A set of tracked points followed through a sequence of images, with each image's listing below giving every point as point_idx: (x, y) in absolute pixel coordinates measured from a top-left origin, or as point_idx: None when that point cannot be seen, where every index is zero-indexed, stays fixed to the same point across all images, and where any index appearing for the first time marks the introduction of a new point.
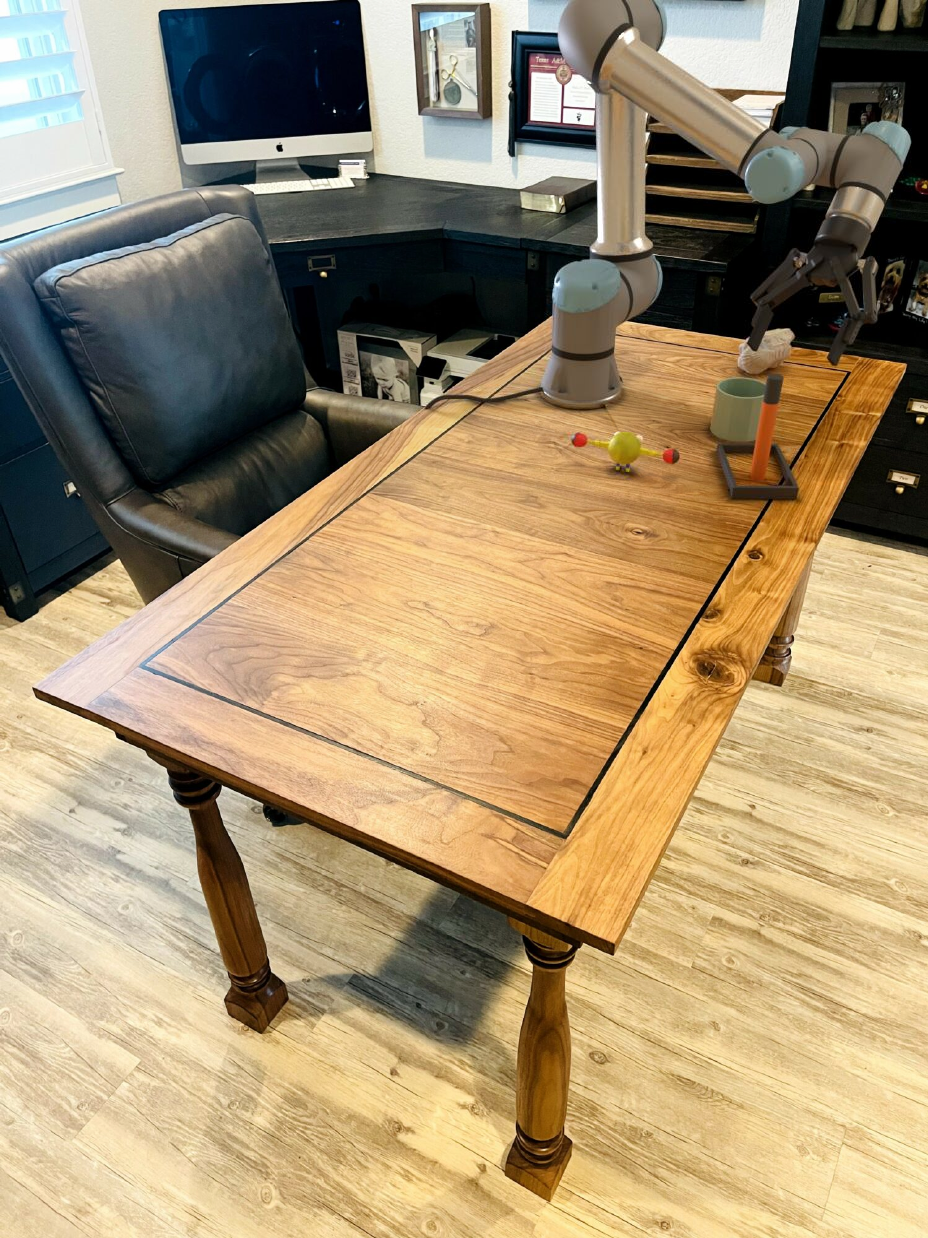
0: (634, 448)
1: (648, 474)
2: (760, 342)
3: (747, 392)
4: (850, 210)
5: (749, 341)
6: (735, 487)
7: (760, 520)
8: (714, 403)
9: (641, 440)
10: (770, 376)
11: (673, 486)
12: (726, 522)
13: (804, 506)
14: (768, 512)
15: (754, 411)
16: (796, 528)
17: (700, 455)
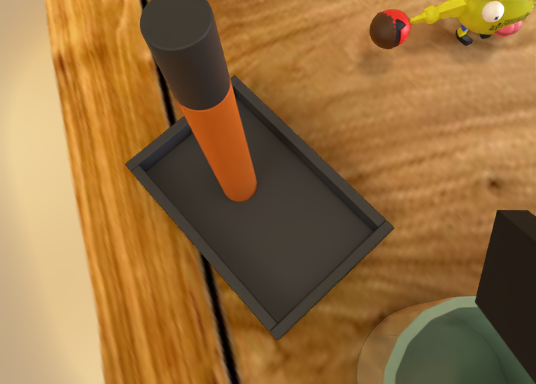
0: None
1: (424, 58)
2: (505, 337)
3: None
4: None
5: (522, 216)
6: (231, 78)
7: (154, 63)
8: None
9: (482, 10)
10: (192, 3)
11: (353, 54)
12: None
13: (110, 161)
14: (156, 95)
15: (382, 347)
16: (89, 82)
17: (409, 203)
